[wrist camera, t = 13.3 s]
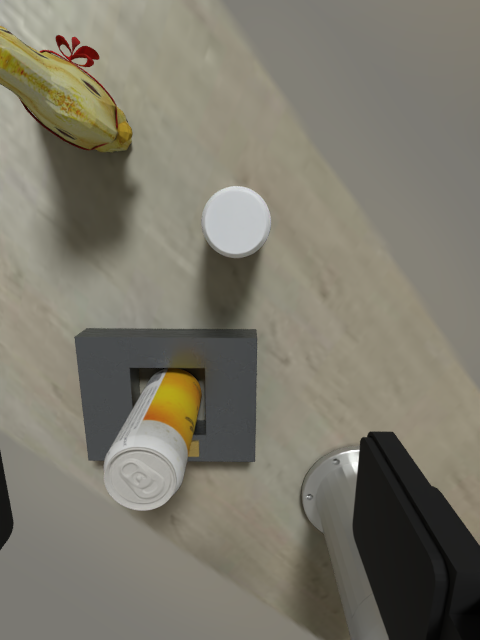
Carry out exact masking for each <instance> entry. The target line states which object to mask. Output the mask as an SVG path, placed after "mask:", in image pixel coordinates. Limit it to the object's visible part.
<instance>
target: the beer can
mask: <svg viewBox="0 0 480 640" xmlns="http://www.w3.org/2000/svg"><path fill="white" fill-rule="evenodd" d="M201 397H202V393H201V388H200V385H199V383H198V381H197V380H196V379H195V377H194V376H193V375H191V374H190V373H188V372H187V371H185V370H182V369H178V368H167V369H163V370H160V371H158V372H157V373H155V374H154V375H153V376H152V377H151V378H150V380H149V381H148V383H147V385H146V387H145V388H144V390H143V392H142V394H141V395H140V397H139V399H138V401H137V402H136V404H135V406H134V408H133V409H132V411H131V413H130V414H129V416H128V418H127V420H126V421H125V423H124V425H123V427H122V428H121V430H120V432H119V434H118V435H117V437H116V439H115V441H114V442H113V444H112V446H111V448H110V449H109V451H108V453H107V455H106V457H105V460H104V483H105V487H106V489H107V491H108V493H109V494H110V496H111V497H112V498H113V499H114V500H115V501H116V502H118V503H119V504H121V505H122V506H124V507H127V508H129V509H133V510H139V511H146V510H152V509H156V508H158V507H160V506H162V505H164V504H165V503H166V502H167V501H168V500H169V499H170V498H171V497H172V495H174V494H175V493H176V492H177V490H178V489H179V488H180V486H181V484H182V481H183V477H184V473H185V468H186V464H187V460H188V455H189V451H190V446H191V442H192V438H193V433H194V429H195V424H196V420H197V416H198V411H199V407H200V402H201Z"/></svg>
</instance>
